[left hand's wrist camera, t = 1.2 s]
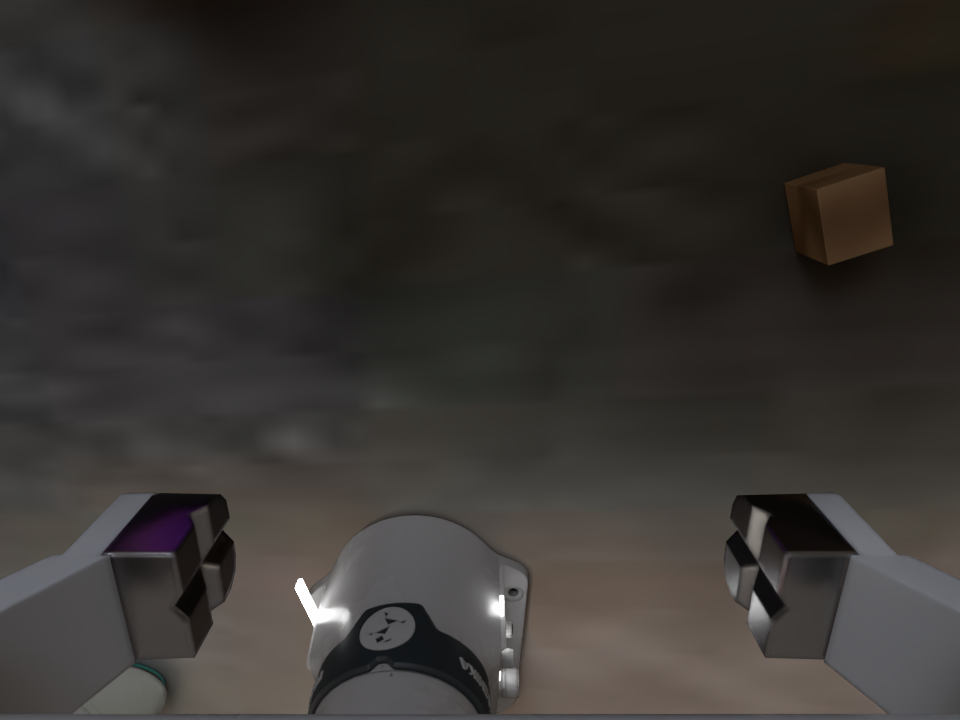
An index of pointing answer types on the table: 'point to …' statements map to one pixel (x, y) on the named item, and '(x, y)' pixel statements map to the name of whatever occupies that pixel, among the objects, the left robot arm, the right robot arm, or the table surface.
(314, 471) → the table surface
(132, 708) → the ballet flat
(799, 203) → the brick
